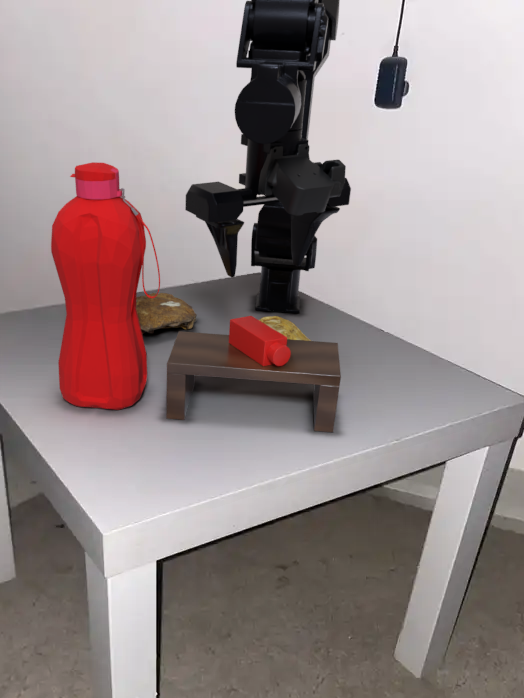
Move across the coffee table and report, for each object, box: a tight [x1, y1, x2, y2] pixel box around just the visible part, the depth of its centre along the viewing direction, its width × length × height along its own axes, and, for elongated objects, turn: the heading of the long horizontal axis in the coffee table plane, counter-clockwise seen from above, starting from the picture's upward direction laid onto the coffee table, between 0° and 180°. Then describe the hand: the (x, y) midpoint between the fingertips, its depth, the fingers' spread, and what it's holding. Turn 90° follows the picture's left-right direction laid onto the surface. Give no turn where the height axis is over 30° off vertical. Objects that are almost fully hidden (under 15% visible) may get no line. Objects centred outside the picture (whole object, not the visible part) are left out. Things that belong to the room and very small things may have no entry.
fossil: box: [258, 315, 312, 341], centre depth 99 cm, size 11×6×10 cm
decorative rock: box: [136, 292, 198, 335], centre depth 105 cm, size 11×4×15 cm
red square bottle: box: [228, 315, 291, 366], centre depth 82 cm, size 8×3×3 cm, turn 29°
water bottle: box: [50, 162, 161, 411], centre depth 82 cm, size 9×11×25 cm
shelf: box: [165, 331, 342, 433], centre depth 85 cm, size 9×18×7 cm, turn 83°
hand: (264, 270), depth 90 cm, fingers open, 9 cm apart
